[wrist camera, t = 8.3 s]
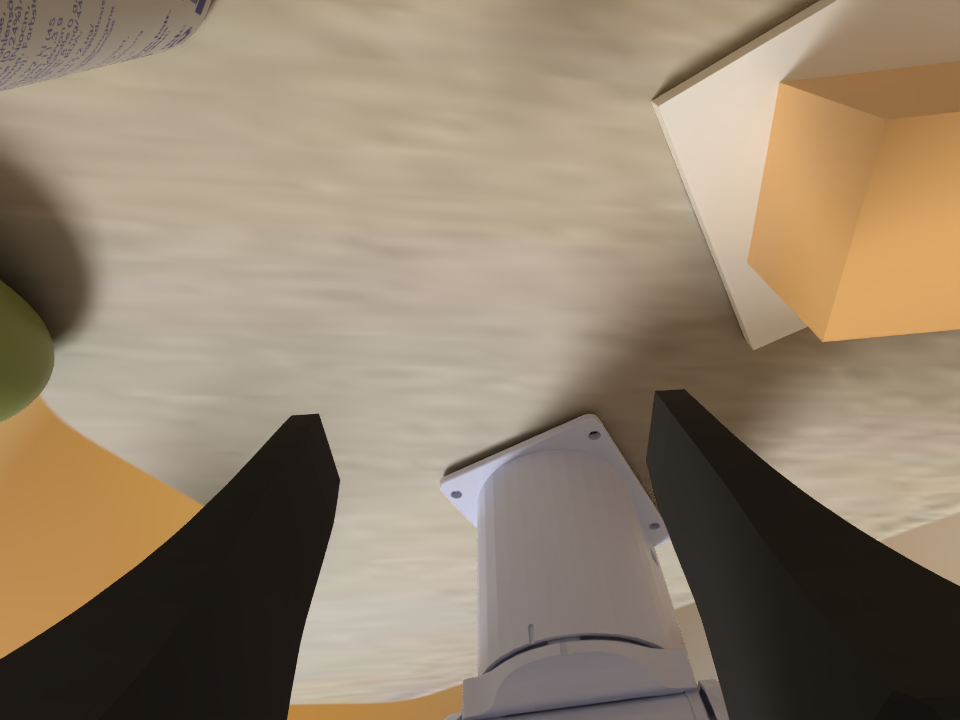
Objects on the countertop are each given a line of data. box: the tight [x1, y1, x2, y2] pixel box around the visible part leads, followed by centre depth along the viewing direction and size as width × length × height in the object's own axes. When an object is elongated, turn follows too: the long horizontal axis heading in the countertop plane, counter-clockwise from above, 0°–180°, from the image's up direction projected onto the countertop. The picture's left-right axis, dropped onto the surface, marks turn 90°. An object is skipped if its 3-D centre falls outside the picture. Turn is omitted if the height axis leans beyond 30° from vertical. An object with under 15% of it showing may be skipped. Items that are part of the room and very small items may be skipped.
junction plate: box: [651, 0, 960, 350], centre depth 16 cm, size 10×9×4 cm
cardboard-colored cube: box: [747, 61, 960, 342], centre depth 15 cm, size 6×6×5 cm
